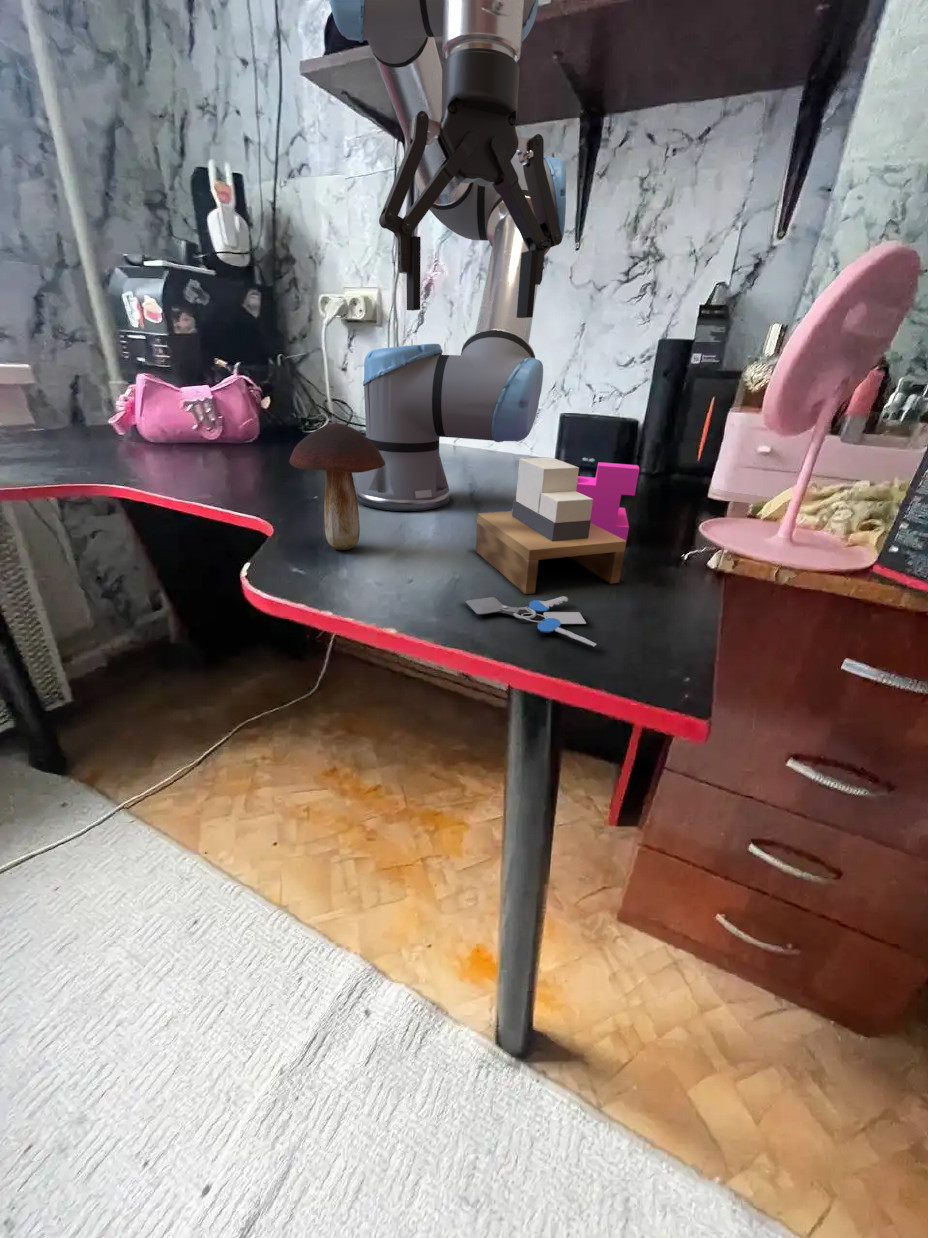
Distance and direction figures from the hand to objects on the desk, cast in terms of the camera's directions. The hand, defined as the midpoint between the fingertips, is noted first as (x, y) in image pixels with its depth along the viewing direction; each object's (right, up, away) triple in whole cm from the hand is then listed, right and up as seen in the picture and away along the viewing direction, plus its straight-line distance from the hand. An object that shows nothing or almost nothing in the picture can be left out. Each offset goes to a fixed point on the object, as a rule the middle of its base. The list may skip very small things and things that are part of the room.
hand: (470, 314), depth 62 cm
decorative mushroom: (-16, -26, +7) cm, 31 cm away
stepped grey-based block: (+9, -24, +2) cm, 26 cm away
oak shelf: (+9, -28, +4) cm, 30 cm away
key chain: (+7, -34, -8) cm, 36 cm away
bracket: (+18, -22, +19) cm, 33 cm away
